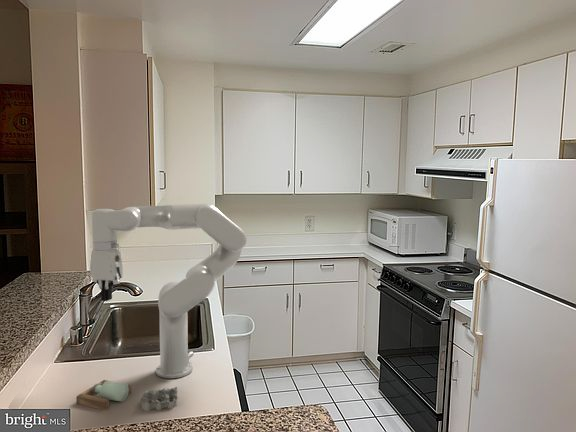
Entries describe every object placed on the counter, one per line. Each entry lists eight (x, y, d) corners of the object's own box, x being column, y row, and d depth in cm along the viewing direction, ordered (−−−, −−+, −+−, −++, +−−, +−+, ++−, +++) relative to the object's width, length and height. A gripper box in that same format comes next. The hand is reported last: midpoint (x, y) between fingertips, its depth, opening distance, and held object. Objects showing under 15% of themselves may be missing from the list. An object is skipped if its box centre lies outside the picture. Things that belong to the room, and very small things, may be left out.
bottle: (126, 400, 140) (98, 396, 142) (130, 383, 142) (102, 379, 144) (117, 402, 135) (88, 398, 138) (120, 383, 137) (92, 380, 139)
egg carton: (139, 412, 132) (139, 399, 132) (143, 400, 140) (143, 387, 139) (176, 409, 134) (176, 396, 133) (178, 397, 141) (178, 384, 141)
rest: (104, 386, 147) (104, 379, 147) (131, 392, 144) (130, 385, 143) (76, 403, 136) (76, 396, 136) (104, 410, 133) (104, 402, 133)
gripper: (131, 245, 151) (132, 299, 153) (95, 243, 156) (97, 295, 158) (115, 249, 144) (117, 305, 146) (78, 246, 149) (80, 300, 151)
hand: (106, 299), depth 152 cm, fingers closed
